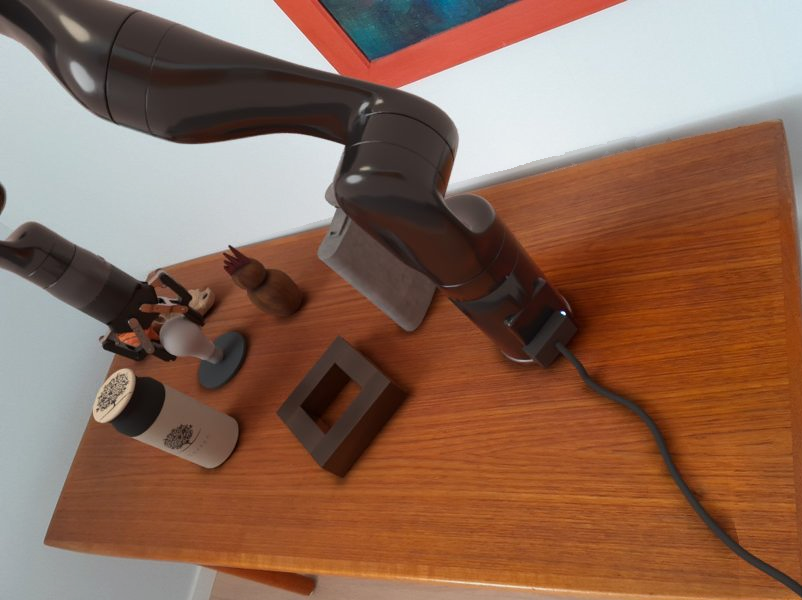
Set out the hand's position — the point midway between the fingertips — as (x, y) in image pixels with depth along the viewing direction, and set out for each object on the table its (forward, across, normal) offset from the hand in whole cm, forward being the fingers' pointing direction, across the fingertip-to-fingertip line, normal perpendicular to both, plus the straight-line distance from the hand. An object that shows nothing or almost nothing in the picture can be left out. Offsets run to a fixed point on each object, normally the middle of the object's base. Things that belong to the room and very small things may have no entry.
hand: (188, 339), depth 101 cm
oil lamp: (+7, +1, +16) cm, 18 cm away
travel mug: (+7, -8, -13) cm, 17 cm away
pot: (+7, -9, +22) cm, 25 cm away
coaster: (+7, 0, 0) cm, 7 cm away
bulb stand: (+7, +9, -30) cm, 32 cm away
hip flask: (+8, +29, -26) cm, 40 cm away
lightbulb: (+7, 0, 0) cm, 7 cm away
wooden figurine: (+8, +14, -5) cm, 17 cm away
